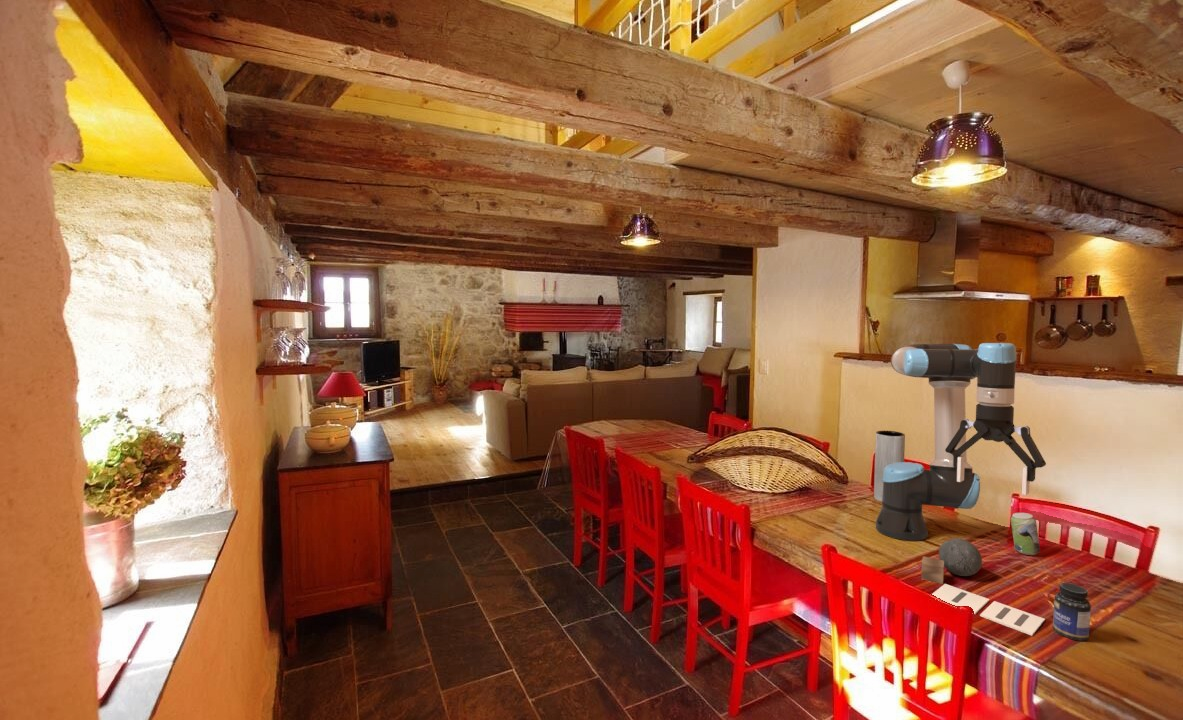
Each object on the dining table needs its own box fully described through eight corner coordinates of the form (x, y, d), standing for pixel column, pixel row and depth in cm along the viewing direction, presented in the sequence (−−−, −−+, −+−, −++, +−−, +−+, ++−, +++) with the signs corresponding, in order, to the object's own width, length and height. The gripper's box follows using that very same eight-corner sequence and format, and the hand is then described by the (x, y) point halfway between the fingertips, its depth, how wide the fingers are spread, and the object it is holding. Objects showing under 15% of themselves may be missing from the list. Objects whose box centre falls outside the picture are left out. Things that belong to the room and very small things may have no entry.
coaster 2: (979, 616, 126) (980, 614, 126) (994, 602, 132) (994, 600, 132) (1032, 635, 118) (1032, 633, 118) (1044, 620, 124) (1044, 618, 124)
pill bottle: (1045, 626, 122) (1048, 581, 121) (1069, 624, 122) (1071, 580, 121) (1071, 642, 116) (1074, 595, 115) (1096, 641, 116) (1099, 593, 115)
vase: (902, 505, 200) (904, 437, 198) (872, 501, 205) (874, 434, 203) (903, 498, 208) (905, 432, 206) (875, 493, 214) (876, 429, 212)
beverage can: (1044, 558, 156) (1046, 519, 155) (1016, 556, 157) (1018, 517, 156) (1031, 548, 162) (1033, 511, 161) (1004, 547, 163) (1006, 510, 162)
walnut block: (921, 580, 144) (921, 563, 144) (922, 573, 148) (923, 556, 148) (942, 585, 141) (943, 567, 141) (943, 577, 145) (944, 560, 145)
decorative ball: (945, 580, 144) (947, 545, 143) (932, 563, 153) (934, 531, 152) (988, 585, 141) (989, 549, 140) (971, 567, 150) (973, 534, 150)
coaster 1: (929, 597, 135) (929, 595, 135) (945, 585, 141) (945, 583, 141) (975, 614, 127) (975, 612, 127) (989, 600, 133) (989, 598, 133)
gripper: (933, 400, 138) (930, 478, 139) (1055, 411, 118) (1051, 502, 119) (944, 397, 143) (941, 473, 144) (1064, 408, 123) (1060, 496, 124)
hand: (991, 487), depth 132 cm, fingers open, 13 cm apart
